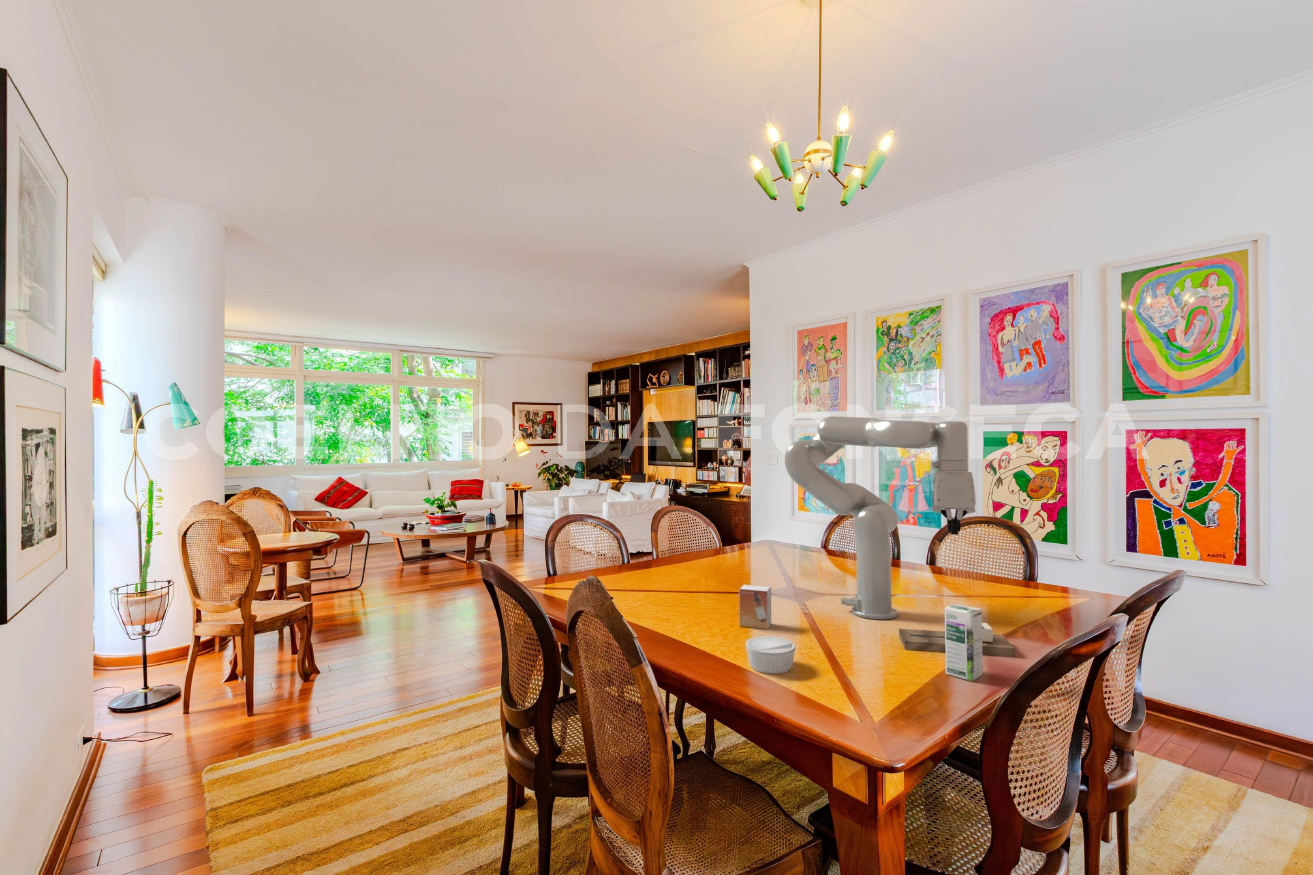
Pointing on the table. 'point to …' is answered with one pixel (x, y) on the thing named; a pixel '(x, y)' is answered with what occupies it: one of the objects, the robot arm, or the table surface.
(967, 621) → the syrup box
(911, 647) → the fader board
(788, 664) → the ramekin
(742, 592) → the small box
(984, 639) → the fader knob
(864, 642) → the table surface
